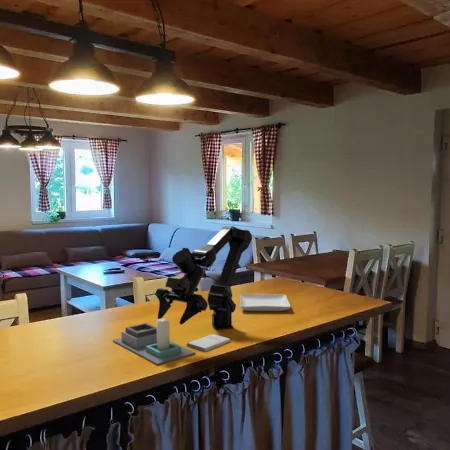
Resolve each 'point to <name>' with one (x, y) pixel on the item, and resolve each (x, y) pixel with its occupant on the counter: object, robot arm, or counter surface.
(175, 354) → the grey peg insertion board
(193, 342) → the external hard drive
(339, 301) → the counter surface
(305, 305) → the counter surface
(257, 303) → the salad plate
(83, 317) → the counter surface
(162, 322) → the plug
